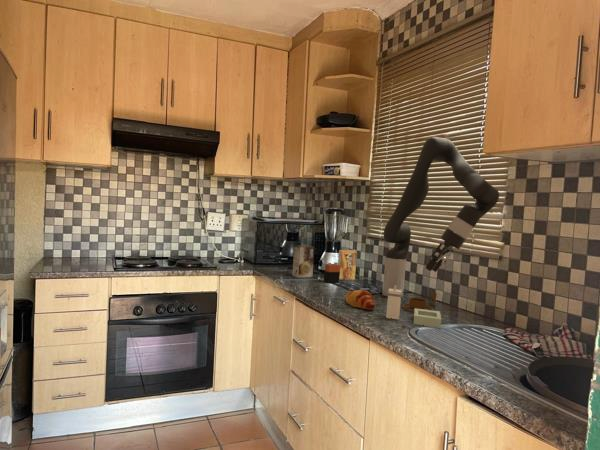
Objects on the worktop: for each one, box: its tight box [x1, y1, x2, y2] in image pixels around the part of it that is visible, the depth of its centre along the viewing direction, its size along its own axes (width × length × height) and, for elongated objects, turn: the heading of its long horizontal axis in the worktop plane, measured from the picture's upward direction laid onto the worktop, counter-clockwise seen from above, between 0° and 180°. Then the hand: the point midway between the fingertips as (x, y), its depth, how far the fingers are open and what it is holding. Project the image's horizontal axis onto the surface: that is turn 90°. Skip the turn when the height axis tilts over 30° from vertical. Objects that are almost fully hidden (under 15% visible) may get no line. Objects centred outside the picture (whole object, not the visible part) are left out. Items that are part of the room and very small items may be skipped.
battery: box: [323, 262, 340, 284], centre depth 224 cm, size 4×7×10 cm, turn 113°
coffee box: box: [292, 245, 315, 278], centre depth 234 cm, size 9×6×16 cm
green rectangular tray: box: [413, 308, 443, 329], centre depth 160 cm, size 12×9×3 cm
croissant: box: [345, 289, 376, 311], centre depth 178 cm, size 21×10×8 cm, turn 21°
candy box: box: [337, 249, 358, 281], centre depth 237 cm, size 9×4×15 cm, turn 107°
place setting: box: [401, 292, 438, 313], centre depth 179 cm, size 18×20×6 cm
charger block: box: [385, 285, 402, 320], centre depth 162 cm, size 5×5×12 cm
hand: (430, 270), depth 160 cm, fingers open, 8 cm apart
